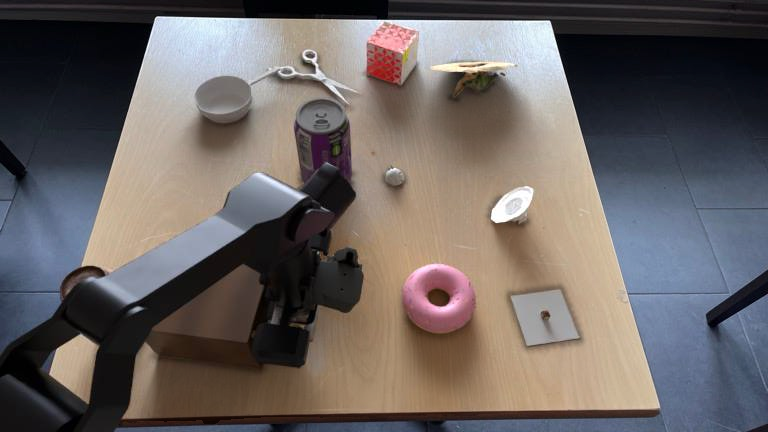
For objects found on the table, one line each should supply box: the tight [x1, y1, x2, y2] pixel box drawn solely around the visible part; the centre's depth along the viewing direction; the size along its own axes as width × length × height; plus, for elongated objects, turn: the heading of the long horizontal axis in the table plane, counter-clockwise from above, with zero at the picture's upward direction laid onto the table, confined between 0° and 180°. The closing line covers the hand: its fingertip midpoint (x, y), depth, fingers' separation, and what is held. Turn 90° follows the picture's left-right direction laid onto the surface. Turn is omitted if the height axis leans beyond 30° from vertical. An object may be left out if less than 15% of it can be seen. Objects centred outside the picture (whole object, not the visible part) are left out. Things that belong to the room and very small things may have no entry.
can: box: [59, 265, 110, 303], centre depth 69 cm, size 6×6×14 cm
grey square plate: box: [510, 289, 580, 347], centre depth 77 cm, size 8×8×2 cm
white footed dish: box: [490, 185, 534, 225], centre depth 86 cm, size 8×5×8 cm
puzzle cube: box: [366, 20, 420, 87], centre depth 106 cm, size 8×8×8 cm
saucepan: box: [193, 65, 281, 124], centre depth 101 cm, size 11×18×4 cm, turn 129°
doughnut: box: [400, 262, 477, 334], centre depth 77 cm, size 11×11×4 cm
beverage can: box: [293, 96, 353, 185], centre depth 86 cm, size 9×9×15 cm
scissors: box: [267, 49, 362, 105], centre depth 106 cm, size 11×1×20 cm
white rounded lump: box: [385, 165, 405, 186], centre depth 91 cm, size 3×4×3 cm
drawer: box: [250, 285, 321, 345], centre depth 72 cm, size 18×11×8 cm, turn 83°
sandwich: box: [429, 61, 518, 99], centre depth 105 cm, size 18×14×8 cm
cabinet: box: [144, 264, 265, 370], centre depth 72 cm, size 15×13×10 cm
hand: (301, 317), depth 72 cm, fingers closed
